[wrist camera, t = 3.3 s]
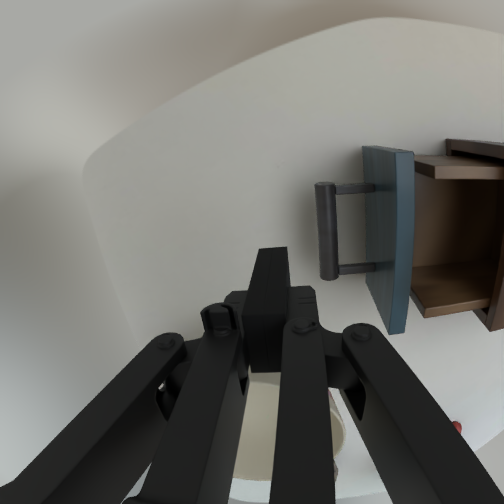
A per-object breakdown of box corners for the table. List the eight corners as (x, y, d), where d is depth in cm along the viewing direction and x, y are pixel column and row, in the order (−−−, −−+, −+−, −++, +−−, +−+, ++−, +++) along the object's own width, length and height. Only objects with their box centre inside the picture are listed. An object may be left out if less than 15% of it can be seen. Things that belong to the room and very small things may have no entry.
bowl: (170, 314, 31) (130, 380, 21) (330, 296, 28) (345, 370, 18) (212, 415, 36) (194, 477, 27) (338, 407, 33) (344, 475, 24)
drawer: (318, 286, 26) (326, 342, 19) (308, 149, 22) (317, 155, 15) (488, 268, 24) (531, 307, 16) (496, 148, 20) (553, 160, 12)
